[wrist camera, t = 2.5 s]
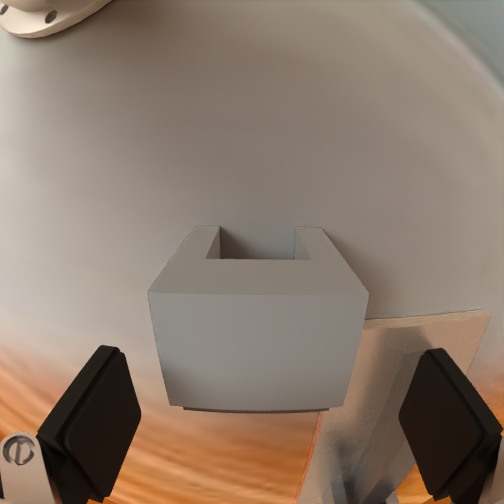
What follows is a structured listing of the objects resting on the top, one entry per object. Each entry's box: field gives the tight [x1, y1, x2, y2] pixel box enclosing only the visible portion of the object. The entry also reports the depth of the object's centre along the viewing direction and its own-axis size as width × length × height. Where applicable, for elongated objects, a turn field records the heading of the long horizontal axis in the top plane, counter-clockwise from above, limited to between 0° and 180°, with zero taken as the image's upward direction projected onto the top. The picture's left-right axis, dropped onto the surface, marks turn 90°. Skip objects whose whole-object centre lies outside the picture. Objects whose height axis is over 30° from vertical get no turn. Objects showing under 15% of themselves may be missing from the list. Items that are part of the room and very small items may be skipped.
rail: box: [294, 309, 490, 504], centre depth 17 cm, size 26×11×8 cm, turn 0°
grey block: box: [147, 226, 369, 413], centre depth 12 cm, size 5×6×7 cm
